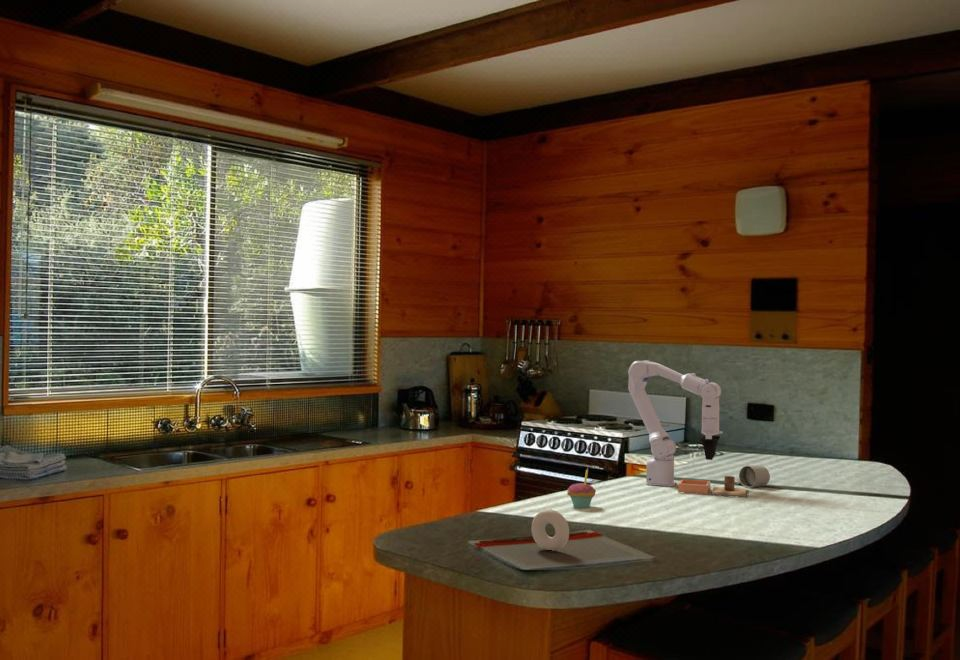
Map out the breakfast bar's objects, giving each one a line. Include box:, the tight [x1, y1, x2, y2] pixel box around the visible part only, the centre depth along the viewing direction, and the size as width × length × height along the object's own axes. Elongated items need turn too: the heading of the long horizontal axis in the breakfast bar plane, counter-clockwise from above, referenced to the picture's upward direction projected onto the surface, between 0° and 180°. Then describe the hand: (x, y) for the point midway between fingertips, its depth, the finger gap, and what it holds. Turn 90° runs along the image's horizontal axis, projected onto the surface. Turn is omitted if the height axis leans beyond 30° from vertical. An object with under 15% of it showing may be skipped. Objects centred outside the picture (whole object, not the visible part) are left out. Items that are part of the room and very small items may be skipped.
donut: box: [530, 508, 570, 552], centre depth 211 cm, size 10×4×10 cm, turn 56°
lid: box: [711, 475, 747, 496], centre depth 291 cm, size 10×10×5 cm
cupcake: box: [566, 467, 597, 509], centre depth 266 cm, size 9×8×12 cm
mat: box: [711, 489, 749, 498], centre depth 291 cm, size 11×13×1 cm
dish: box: [677, 478, 711, 495], centre depth 294 cm, size 10×10×3 cm
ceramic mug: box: [736, 464, 771, 489], centre depth 305 cm, size 11×8×8 cm
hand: (710, 458), depth 299 cm, fingers open, 7 cm apart
